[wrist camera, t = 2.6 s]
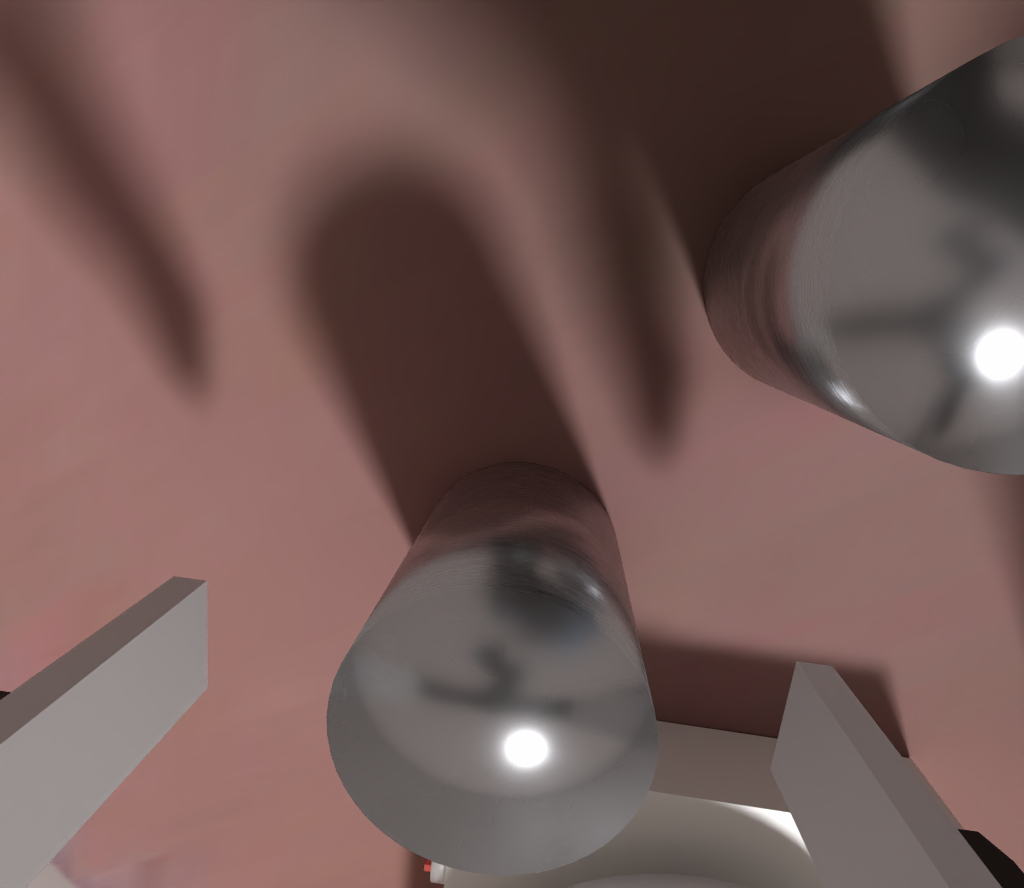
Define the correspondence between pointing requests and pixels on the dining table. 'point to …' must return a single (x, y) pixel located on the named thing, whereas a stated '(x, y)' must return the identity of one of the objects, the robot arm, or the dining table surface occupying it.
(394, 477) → the dining table surface
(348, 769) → the cylinder
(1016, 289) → the cylinder
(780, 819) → the scale
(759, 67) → the dining table surface
